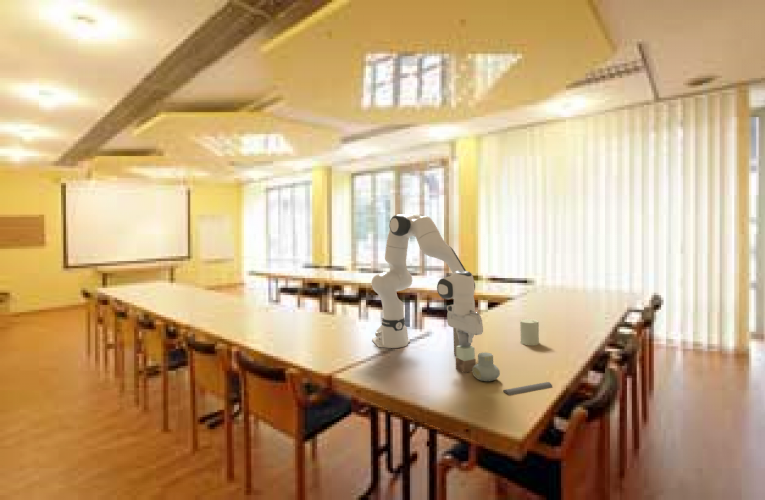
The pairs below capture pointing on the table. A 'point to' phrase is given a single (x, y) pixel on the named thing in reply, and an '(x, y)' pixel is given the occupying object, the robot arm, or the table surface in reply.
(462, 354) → the sage block
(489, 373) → the air freshener
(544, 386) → the half round rod
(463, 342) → the short grey cylinder
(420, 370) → the table surface
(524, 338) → the can
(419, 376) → the table surface
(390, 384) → the table surface
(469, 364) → the walnut block
